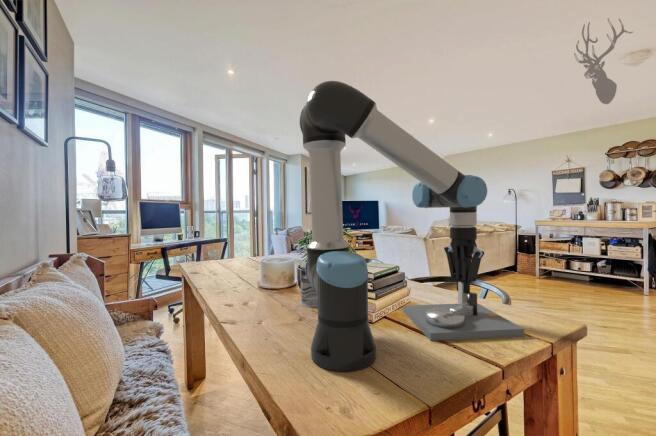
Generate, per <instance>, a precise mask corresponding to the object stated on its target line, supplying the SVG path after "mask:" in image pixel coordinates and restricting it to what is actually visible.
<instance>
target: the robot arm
mask: <svg viewBox="0 0 656 436" xmlns="http://www.w3.org/2000/svg"><path fill="white" fill-rule="evenodd" d="M299 128H300V131H301V133H302V147H303V148H304V149H305V150H306V151H307V152H308V160H309V161H308V164H309V189H310V190H309V191H310V192H309V193H310V217H311V219H310V220H311V235H312V238H311V242H309V244H308V245H306V254H307V255H306V257H307V260H306V262H307V263H306V267H305V269H304V270H305V271H304V272H305V275H306V278H307V280H308V282H309V283H310V285H311V287H313V288H314V290H315V291H314V292H317V295H318V307H317V324H316V328H315V331H314V335H313V338H312V341H311V345H310V356H311V360H312V361H313V362H314V363H315V364H316V365H317V366H319V367H320V368H323V369H327V370H329V371H336V372H353V371H358V370H363V369H366V368H367V367H369V366H371V365H372V364H373V363H375V361H376V358H377V345H376V342H375V338H374V336H373V334H372V330H371V327H370V324H369V280H368V279H369V269H368V262H367V260H366V258H365V257H364V255H361V254H359V253H357V252H351V251H350V244H349V243H348V242H347V241H345V239H344V222H343V195H342V194H343V193H342V187H343V186H342V165H341V164H342V163H341V162H342V161H341V160H342V159H341V158H342V157H341V152H342V150H344V148H345V147H346V145H347V143H346V136H347V137H349V138H351V139H355V138H358V139H359V140H360V141H362V142H363V143H365V144H366V145H368V146H369V147H370V148H372V149H374V150H375V151H376V152H378V153H380V154H381V155H382V156H383V157H385V158H386V159H388V160H389V161H390V162H392V163H393V164H395V165H396V166H398V167H399V168H401V169H402V170H403V171H405V172H406V173H407V174H409V175H410V176H412V178H414V179H416V180H418V181H419V182H418V183H417V182H416V184H415V185H414V186H413V187H412V188H413V189H412V193H411V194H412V196H411V197H412V202H413V204H414V206H416V207H417V208H422V209H423V208H424V209H430V208H431V209H433V208H449V225H450V228H449V238H450V239H451V240H450V244H449V245H448V246H445V247H444V248H443V249H444V252H445V254H446V258H447V263H448V268H449V274H450V277H451V278H452V279H454V280H455V281H456V291H457V293H458V294H457V295H458V296H457V300H458V301H457V302H458V303H457V304H460V303H461V304H464V303H467V293H468V292H471V283H473V282H476V281H477V279H478V275H479V270H480V266H481V261H482V258H483V257H484V255H485V251H483V250H480V249H479V248H478V245H477V242H476V241H477V238H478V236H477V235H478V234H477V233H478V231H477V230H478V229H477V223H478V222H477V219H478V217H477V216H478V214H477V212H478V211H477V209H478V206H480V205H482V204H483V203H484V202H485V200H486V199H487V198H486V197H487V196H488V186H487V184H486V181H485V180H484V179H483V178H482V177H480V176H477V175H472V174H464V173H462V172H460V171H459V170H458V169H457V168H455V167H454V166H453V165H451V164H450V163H449V162H448V161H446V160H445V159H443V158H442V157H441V156H439V155H438V154H437V153H435V152H434V151H433V150H431V149H430V148H429V147H427V146H426V145H424V144H423V143H422V142H421V141H420V140H419V139H417V138H415V136H413V135H411V134H410V133H409V132H408V131H406V130H405V129H403V128H402V127H401V126H400V125H397V123H396V122H394V121H392V120H391V119H390V118H389V117H387V116H386V115H385V114H384V113H382V112H381V111H379V110H378V107H377V103H376V102H375V101H374V100H373V99H372V98H370V97H369V96H367V95H366V94H364V93H363V92H362V91H360V90H358V89H357V88H355V87H353V86H351V85H350V84H347V83H345V82H342V81H338V80H326V81H323V82H321V83H319V84H317V85H316V86H315V87H314V88H313V89H312V90H311V91H310V93H309V95H308V97H307V100H306V103H305V105H304V106H303V108H302V110H301V112H300V115H299Z"/></svg>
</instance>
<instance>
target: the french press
mask: <svg viewBox="0 0 656 436" xmlns="http://www.w3.org/2000/svg"><path fill="white" fill-rule="evenodd" d="M307 238H308V239H309V241H310V242H311V241H312V234H308V235H307ZM310 242H309V243H310ZM306 263H307V261H304V262H303V263H301V264H300V265H299V267H300V268H301V269H303V270H305V267H306ZM297 304H298V306H300V307H303V308H316V307H317V308H318V295H317V292H316V291H315V290H314V288H313V287H312V286H311V285H310V283H309V282H308V280H307V278H306V274H303V275H302V276H301V279H300V300H299V302H298V303H297Z"/></svg>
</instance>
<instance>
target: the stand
mask: <svg viewBox="0 0 656 436" xmlns="http://www.w3.org/2000/svg"><path fill="white" fill-rule="evenodd" d="M465 304H467V303H464V304H461V303H437V304H436V303H435V304H417V305H416V304H413V305H411V304H409V305H402V306H403V307H402V308H403V309H402V310H403V314H404V315H406V316H407V317H408V318H409V319H410V320H411V321H412V323H413V324H414V325H415V326H416V327H417V329H419V330H420V332H422V333H423V335H425V336H426V338H427V339H428V340H429V341H430V342H435V341H436V342H437V341H456V340H457V341H458V340H459V341H460V340H477V339H496V338H497V339H500V338H518V337H519V338H521V337H525V329H524V328H523V327H522V326H520V325H518V324H516V323H514V322H512V321H510V320H509V319H507V318H505V317H503V316H502V315H499V314H498V313H497V312H494V311H492V310H491V309H489V308H488V307H485V306H483V305H482V304H479V303H478V302H477V315H472V316H468V317H465V318H464V326H463V327H460V328H454V329H449V328H441V327H436V326H433V325H431V324H429V323H428V322H427V321H426V310H427V309H429V308H434V307H445V308H453V307H457V306H461V305H465Z"/></svg>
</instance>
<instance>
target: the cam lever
mask: <svg viewBox="0 0 656 436" xmlns="http://www.w3.org/2000/svg"><path fill="white" fill-rule="evenodd" d="M477 303H478V293H476V292H473V291H470V292H468V293H467V304H465V305H461V306H457V307H453V308H445V307H434V308H429V309H427V310H426V321H427V322H428V323H429V324H431V325H433V326H436V327H441V328H449V329H454V328H460V327H463V326H464V318H465V317H468V316H472V315H477Z"/></svg>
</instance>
